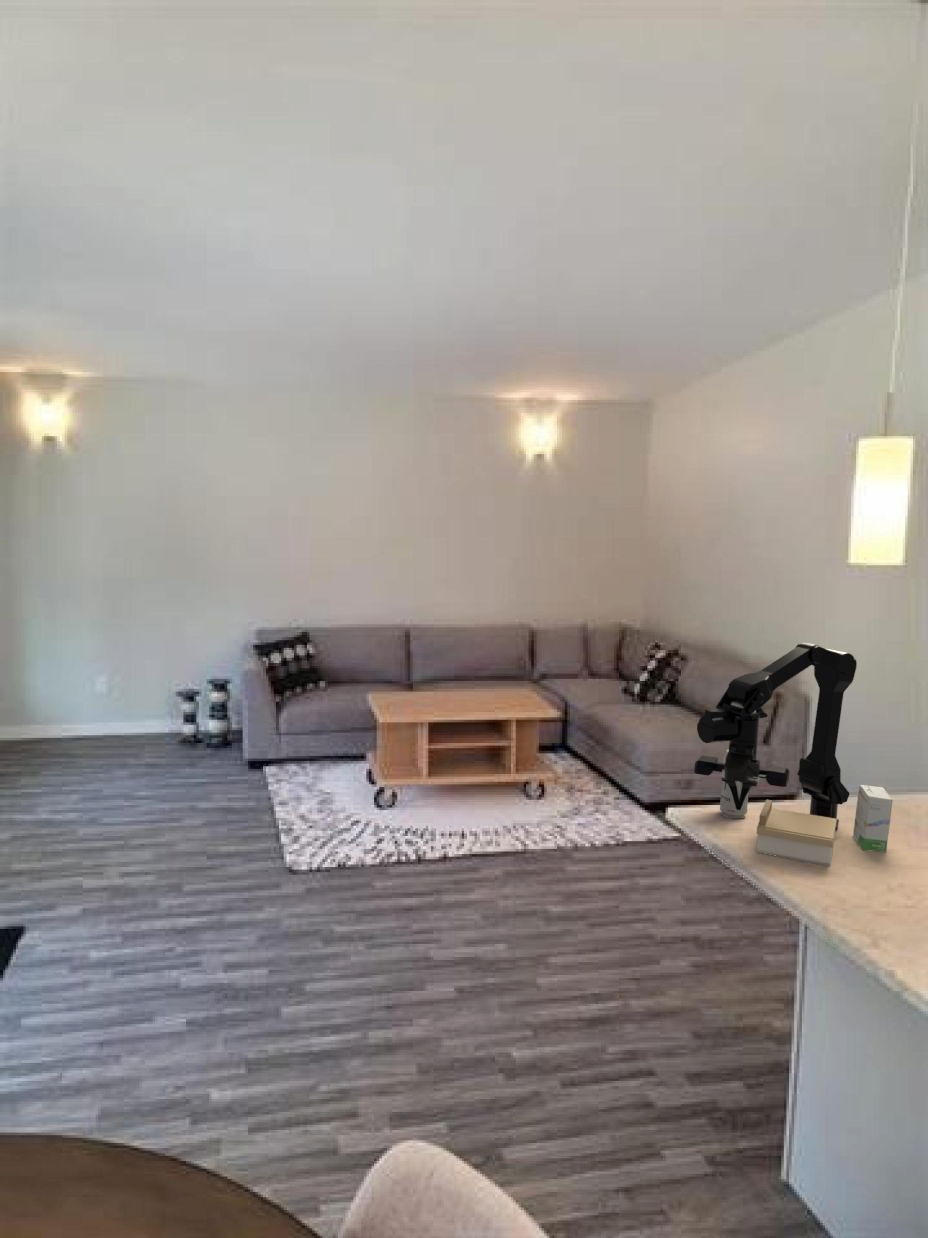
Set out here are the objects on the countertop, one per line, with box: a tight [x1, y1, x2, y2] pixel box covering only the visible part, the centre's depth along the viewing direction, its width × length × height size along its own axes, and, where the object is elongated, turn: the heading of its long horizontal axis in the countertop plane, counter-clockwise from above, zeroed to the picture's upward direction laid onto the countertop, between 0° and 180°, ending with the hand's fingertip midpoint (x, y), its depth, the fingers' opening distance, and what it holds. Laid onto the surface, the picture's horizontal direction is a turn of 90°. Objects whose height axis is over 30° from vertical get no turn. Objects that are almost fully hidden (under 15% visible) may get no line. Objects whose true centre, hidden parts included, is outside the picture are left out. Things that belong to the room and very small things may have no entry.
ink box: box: [852, 784, 894, 853], centre depth 186 cm, size 9×5×12 cm, turn 168°
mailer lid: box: [756, 799, 838, 848], centre depth 182 cm, size 14×14×4 cm
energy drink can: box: [719, 748, 749, 819], centre depth 202 cm, size 6×6×15 cm
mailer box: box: [756, 834, 835, 867], centre depth 183 cm, size 12×14×5 cm
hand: (738, 809), depth 188 cm, fingers closed
